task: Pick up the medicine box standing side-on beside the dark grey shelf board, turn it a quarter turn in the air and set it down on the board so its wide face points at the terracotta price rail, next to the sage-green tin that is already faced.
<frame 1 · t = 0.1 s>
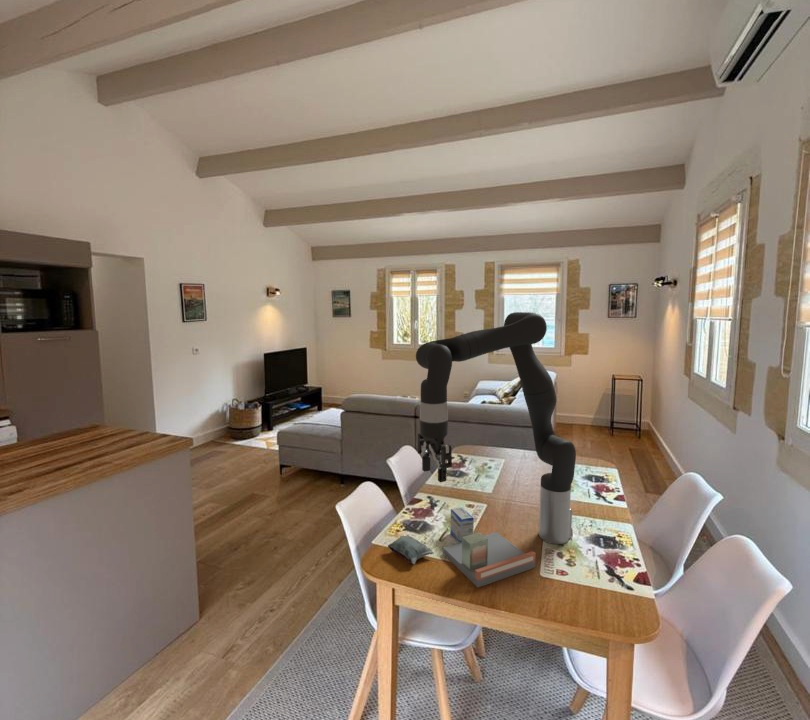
hand: (433, 475, 119), 29 cm above the table, fingers open, 8 cm apart
grey bean bag: (410, 555, 133), on the table
medicine box: (461, 538, 142), on the table
shelf: (487, 560, 130), on the table
sage tin: (474, 564, 124), point 2 cm above the table, touching shelf
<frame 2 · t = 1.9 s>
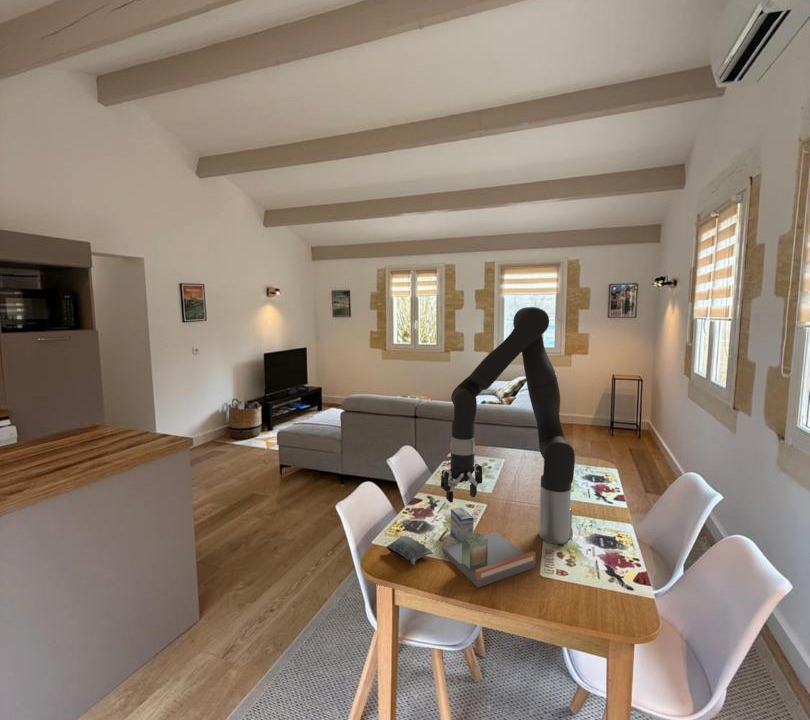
hand: (461, 499, 140), 13 cm above the table, fingers open, 8 cm apart
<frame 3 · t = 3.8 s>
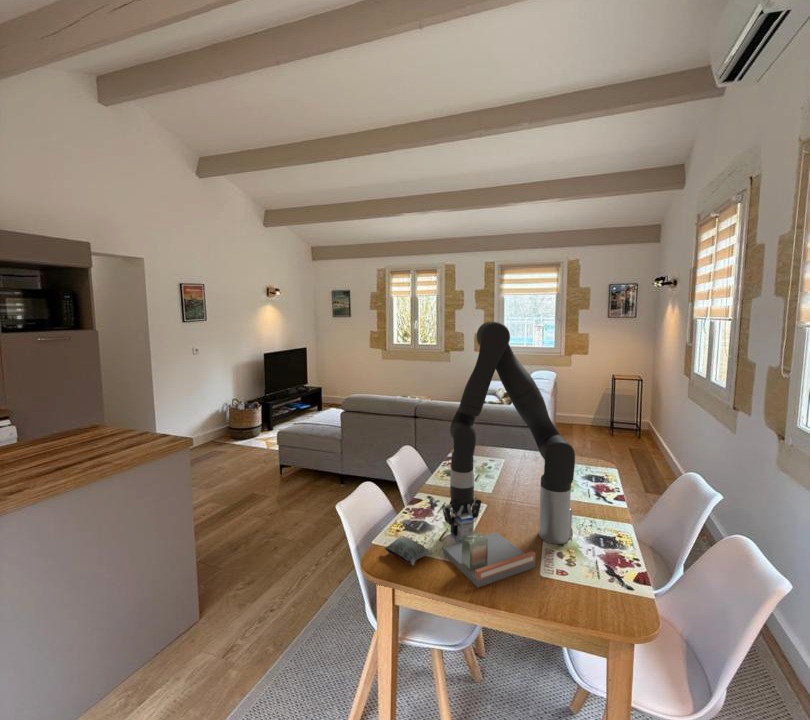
hand: (461, 532, 142), 2 cm above the table, fingers closed on medicine box, 4 cm apart
medicine box: (461, 538, 142), on the table, touching gripper
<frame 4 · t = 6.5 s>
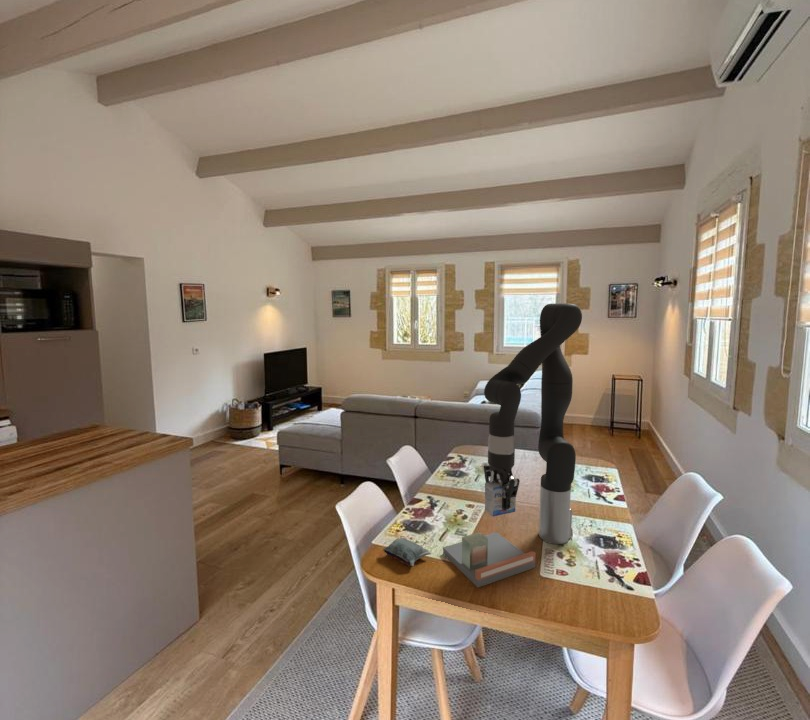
hand: (500, 505, 127), 17 cm above the table, fingers closed on medicine box, 4 cm apart
medicine box: (499, 511, 128), point 15 cm above the table, touching gripper
when the fingers open (5 cm above the table, at t = 9.5 s): medicine box drops 1 cm, resting on shelf.
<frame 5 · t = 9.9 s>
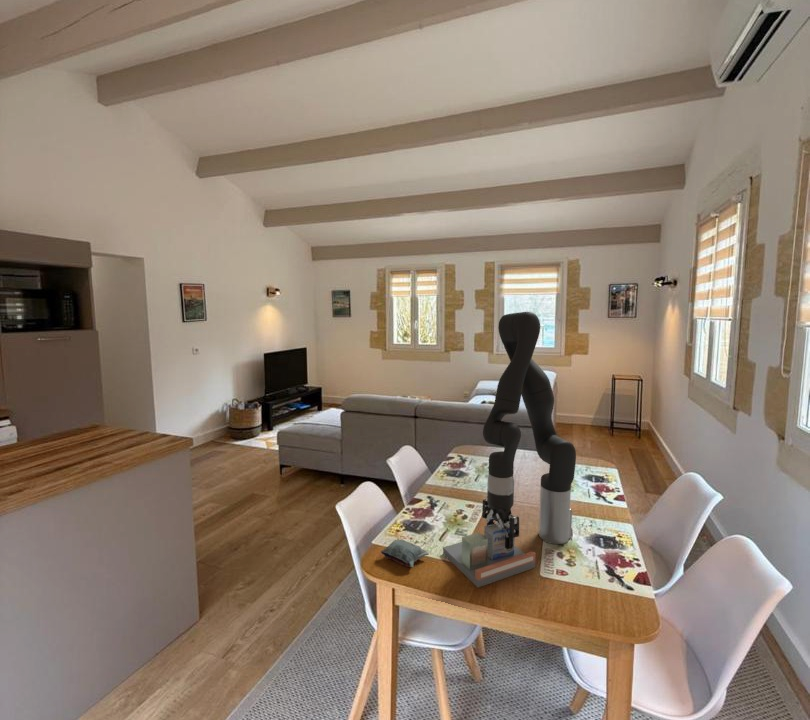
hand: (499, 541, 129), 6 cm above the table, fingers open, 8 cm apart
medicine box: (499, 554, 129), point 2 cm above the table, touching shelf
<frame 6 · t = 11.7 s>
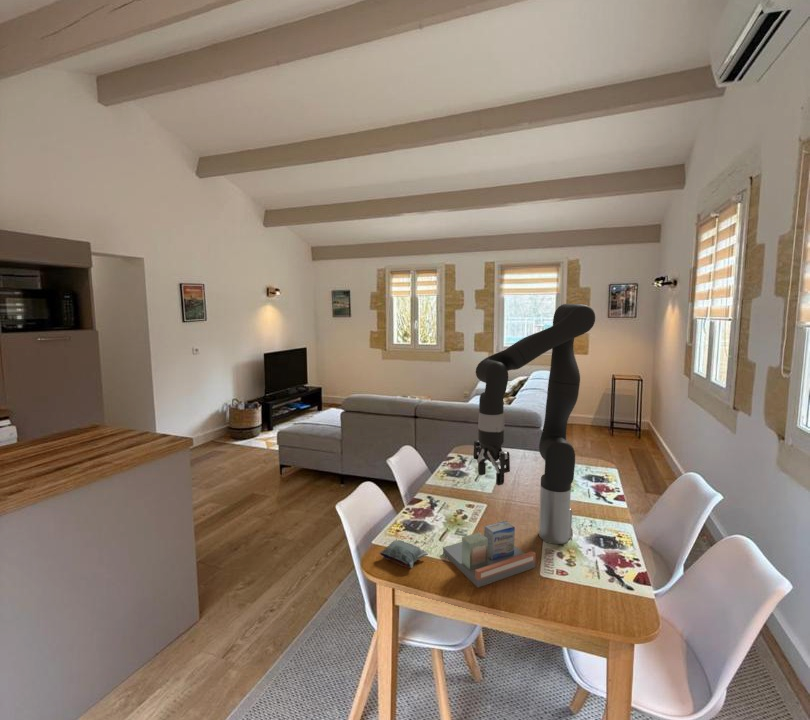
hand: (490, 479, 132), 23 cm above the table, fingers open, 8 cm apart
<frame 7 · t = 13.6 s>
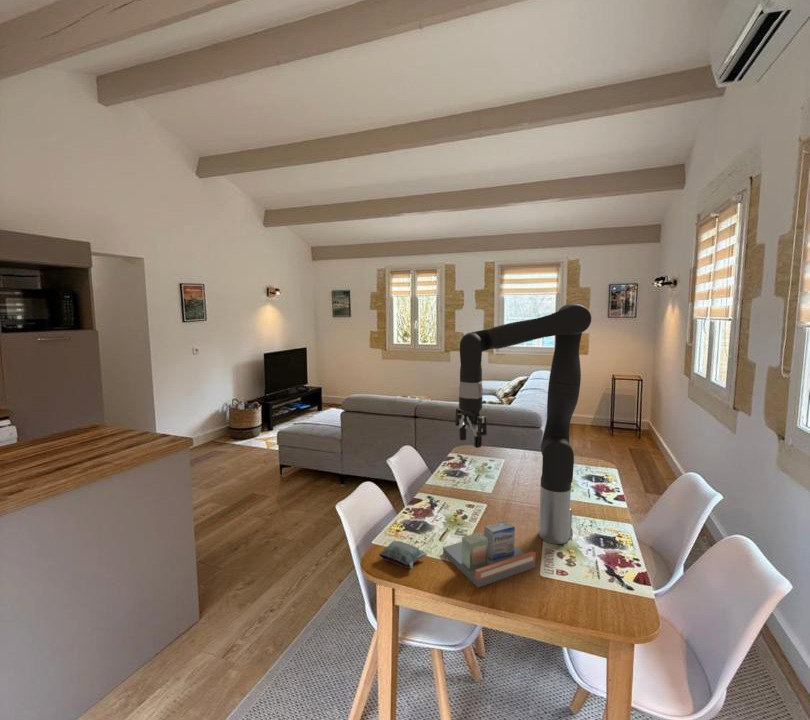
hand: (470, 443, 143), 30 cm above the table, fingers open, 8 cm apart
at the end: medicine box inside the target area on the shelf (3.7 cm from its centre), point 1.8 cm above the shelf's base; medicine box tilted 0°; the gripper is holding nothing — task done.
